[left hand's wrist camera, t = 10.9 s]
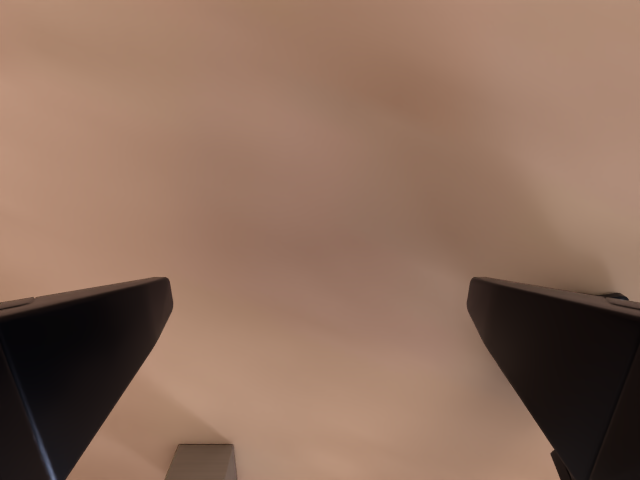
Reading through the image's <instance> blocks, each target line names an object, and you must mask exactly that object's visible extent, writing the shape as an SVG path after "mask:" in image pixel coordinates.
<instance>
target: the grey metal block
mask: <svg viewBox="0 0 640 480" xmlns="http://www.w3.org/2000/svg"><path fill="white" fill-rule="evenodd" d="M165 480H237V473H236V465H235V456H234V447H233V445H178V448H177V450H176V453H175V455H174V458H173V460H172V463H171V465H170V468H169V470H168V473H167V475H166V477H165Z"/></svg>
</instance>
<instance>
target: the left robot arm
mask: <svg viewBox="0 0 640 480" xmlns="http://www.w3.org/2000/svg"><path fill="white" fill-rule="evenodd" d="M172 309H173V298H172V292H171V286H170V281H169V279H168V278H166V277H152V278H146V279H140V280H135V281H129V282H123V283H117V284H111V285H105V286H99V287H93V288H87V289H81V290H75V291H69V292H64V293H58V294H52V295H46V296H40V297H36V298H34V297H31V298H25V299H19V300H13V301H7V302H1V303H0V480H66V478H67V477H68V475H69V474H70V472H71V471H72V469H73V468H74V466H75V465H76V463H77V462H78V460H79V459H80V457H81V456H82V454H83V453H84V451H85V450H86V448H87V447H88V445H89V444H90V442H91V441H92V439H93V438H94V436H95V435H96V433H97V432H98V430H99V429H100V427H101V426H102V424H103V423H104V421H105V420H106V418H107V417H108V415H109V414H110V412H111V411H112V409H113V408H114V406H115V405H116V403H117V402H118V400H119V399H120V397H121V396H122V394H123V393H124V391H125V390H126V388H127V387H128V385H129V384H130V382H131V381H132V379H133V378H134V376H135V375H136V373H137V372H138V370H139V369H140V367H141V366H142V364H143V363H144V361H145V360H146V358H147V357H148V355H149V354H150V352H151V351H152V349H153V347H154V346H155V344H156V342H157V340H158V339H159V337H160V335H161V332H162V330H163V328H164V326H165V324H166V322H167V320H168V318H169V316H170V314H171V312H172ZM467 309H468V312H469V314H470V316H471V318H472V320H473V322H474V324H475V326H476V328H477V330H478V332H479V335H480V337H481V339H482V340H483V342H484V344H485V346H486V347H487V349H488V351H489V352H490V354H491V355H492V357H493V358H494V360H495V361H496V363H497V364H498V366H499V367H500V369H501V370H502V372H503V373H504V375H505V376H506V378H507V379H508V381H509V382H510V384H511V385H512V387H513V388H514V390H515V391H516V393H517V394H518V396H519V397H520V399H521V400H522V402H523V403H524V405H525V406H526V408H527V409H528V411H529V412H530V414H531V415H532V417H533V418H534V420H535V421H536V423H537V424H538V426H539V427H540V429H541V430H542V432H543V433H544V435H545V436H546V438H547V439H548V441H549V442H550V444H551V445H552V447H553V448H554V451H552V452H551V457H552V459H553V462H554V464H555V467H556V469H557V472H558V474H559V477H560V479H561V480H640V303H639V302H633V301H629V299H628V298H627V297H626V296H624V295H623V294H621V293H613V294H606V295H589V294H583V293H577V292H571V291H565V290H559V289H553V288H547V287H541V286H535V285H529V284H523V283H517V282H511V281H506V280H500V279H494V278H488V277H474V278H472V279H471V281H470V286H469V292H468V298H467Z"/></svg>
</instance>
